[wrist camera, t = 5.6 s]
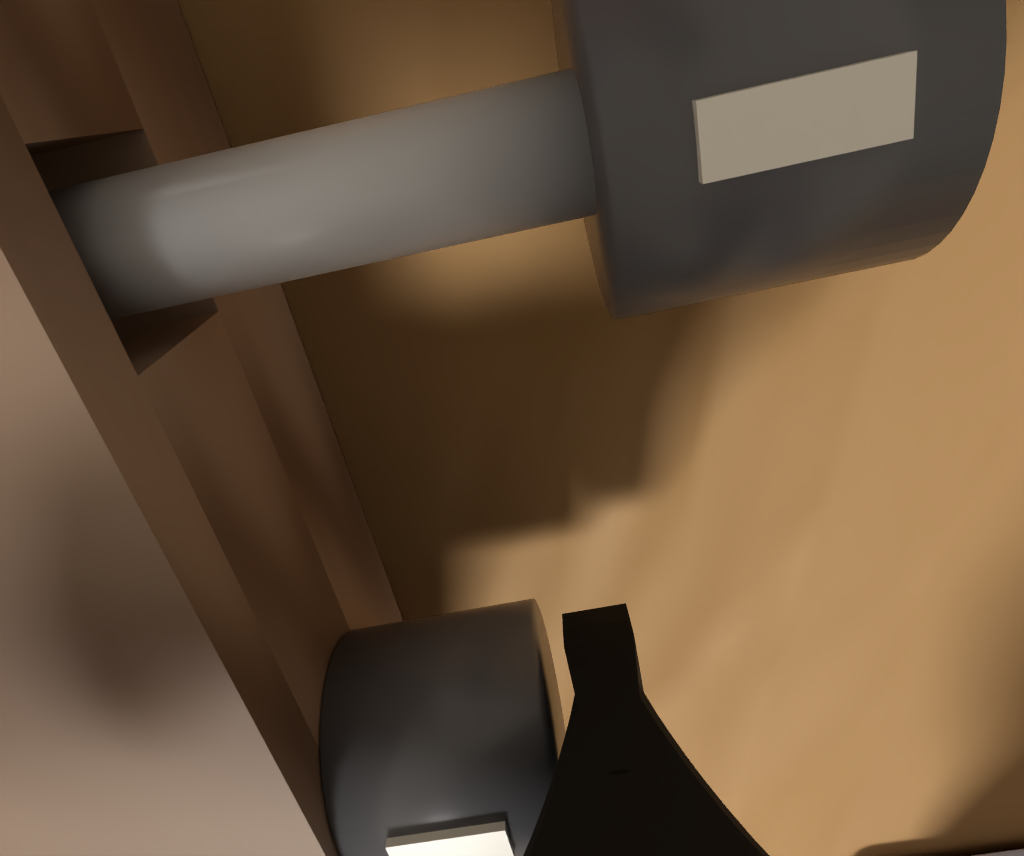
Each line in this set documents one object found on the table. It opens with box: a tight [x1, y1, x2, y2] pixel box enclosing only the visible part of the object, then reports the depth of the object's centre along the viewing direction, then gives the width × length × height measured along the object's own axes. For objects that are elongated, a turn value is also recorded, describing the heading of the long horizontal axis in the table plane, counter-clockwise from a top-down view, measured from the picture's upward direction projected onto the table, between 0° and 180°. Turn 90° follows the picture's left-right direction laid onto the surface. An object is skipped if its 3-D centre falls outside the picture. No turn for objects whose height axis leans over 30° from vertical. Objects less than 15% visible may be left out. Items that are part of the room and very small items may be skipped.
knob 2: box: [320, 599, 566, 856], centre depth 11 cm, size 4×9×4 cm, turn 102°
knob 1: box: [48, 0, 1006, 320], centre depth 7 cm, size 4×9×4 cm, turn 102°
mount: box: [0, 0, 403, 856], centre depth 10 cm, size 16×6×6 cm, turn 12°
